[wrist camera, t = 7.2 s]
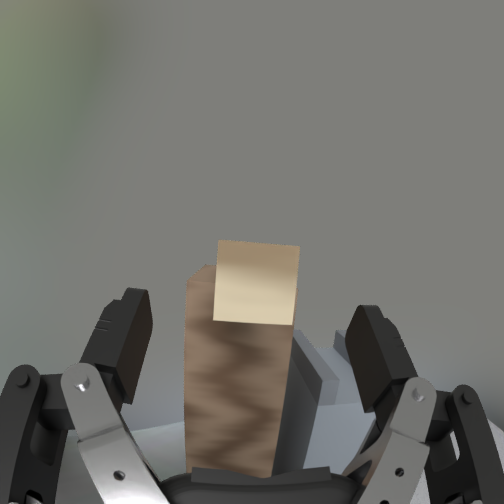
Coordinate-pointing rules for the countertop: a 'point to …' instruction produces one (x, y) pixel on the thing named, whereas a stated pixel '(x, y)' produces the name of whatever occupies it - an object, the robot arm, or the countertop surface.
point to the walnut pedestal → (231, 385)
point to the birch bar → (255, 282)
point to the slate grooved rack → (320, 409)
